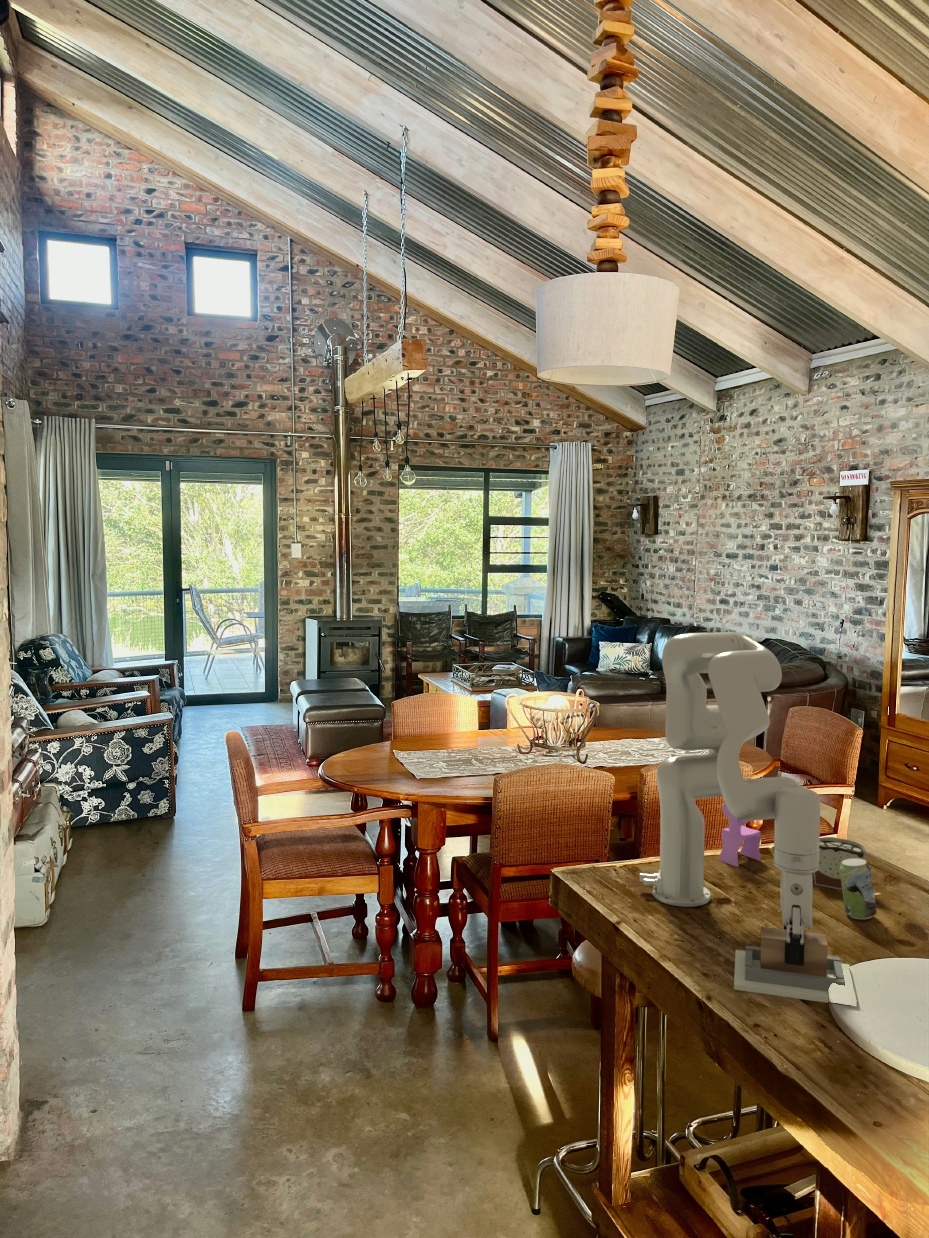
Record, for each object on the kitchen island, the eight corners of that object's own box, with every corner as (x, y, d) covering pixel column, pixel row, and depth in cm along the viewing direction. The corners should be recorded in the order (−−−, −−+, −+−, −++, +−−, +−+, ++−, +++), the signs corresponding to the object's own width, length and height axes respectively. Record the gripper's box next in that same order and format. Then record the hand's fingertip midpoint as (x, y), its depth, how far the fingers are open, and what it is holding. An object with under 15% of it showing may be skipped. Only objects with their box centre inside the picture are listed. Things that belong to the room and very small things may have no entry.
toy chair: (765, 861, 222) (766, 801, 221) (741, 868, 217) (742, 807, 216) (738, 851, 229) (739, 793, 228) (714, 858, 224) (715, 799, 223)
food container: (870, 885, 206) (871, 842, 205) (866, 894, 201) (867, 850, 200) (813, 874, 213) (814, 833, 212) (808, 883, 208) (809, 840, 207)
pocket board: (733, 989, 158) (734, 973, 158) (735, 954, 172) (735, 939, 171) (857, 1006, 152) (857, 989, 152) (848, 969, 166) (849, 953, 165)
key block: (826, 983, 158) (827, 945, 158) (760, 974, 162) (761, 936, 161) (824, 971, 163) (825, 934, 162) (760, 963, 166) (761, 926, 165)
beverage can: (879, 923, 185) (881, 867, 184) (841, 920, 187) (843, 864, 186) (872, 911, 191) (874, 856, 190) (835, 908, 193) (837, 854, 192)
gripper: (822, 877, 151) (819, 981, 152) (815, 844, 167) (812, 938, 169) (774, 872, 153) (772, 974, 155) (772, 840, 169) (770, 933, 171)
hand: (793, 954), depth 162 cm, fingers open, 6 cm apart
